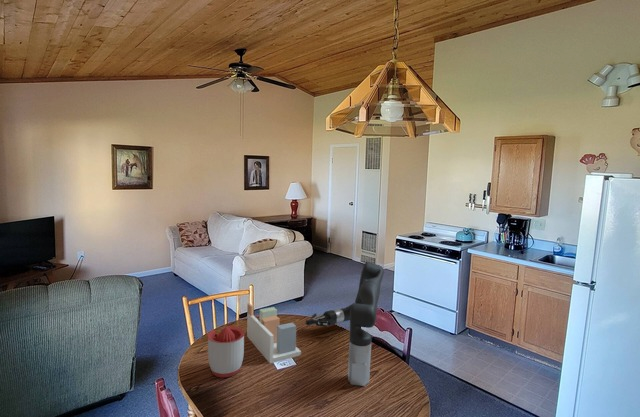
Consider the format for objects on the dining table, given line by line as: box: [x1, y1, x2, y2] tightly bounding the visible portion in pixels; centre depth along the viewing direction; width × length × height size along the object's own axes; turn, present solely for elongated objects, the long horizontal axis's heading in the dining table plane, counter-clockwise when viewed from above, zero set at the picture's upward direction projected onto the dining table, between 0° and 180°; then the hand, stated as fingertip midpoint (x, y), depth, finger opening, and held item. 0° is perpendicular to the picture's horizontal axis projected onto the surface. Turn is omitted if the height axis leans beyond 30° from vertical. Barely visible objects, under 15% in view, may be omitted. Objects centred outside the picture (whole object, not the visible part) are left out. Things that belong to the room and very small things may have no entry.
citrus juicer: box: [207, 325, 246, 379], centre depth 163 cm, size 16×17×20 cm
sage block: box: [258, 306, 278, 322], centre depth 197 cm, size 8×4×12 cm, turn 121°
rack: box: [246, 302, 302, 364], centre depth 186 cm, size 16×30×18 cm, turn 31°
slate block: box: [277, 322, 297, 354], centre depth 178 cm, size 8×4×12 cm, turn 121°
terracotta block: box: [261, 315, 281, 343], centre depth 185 cm, size 8×4×12 cm, turn 121°
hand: (306, 322), depth 196 cm, fingers closed
